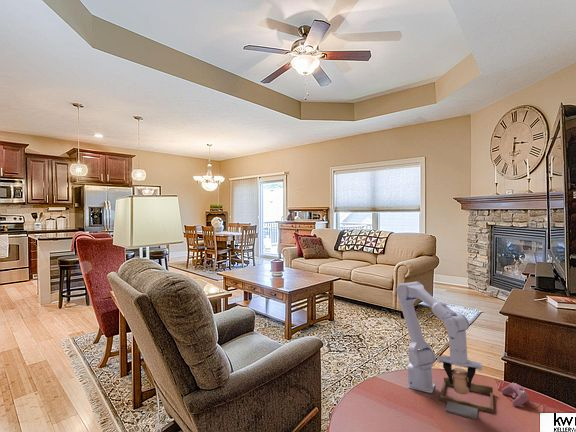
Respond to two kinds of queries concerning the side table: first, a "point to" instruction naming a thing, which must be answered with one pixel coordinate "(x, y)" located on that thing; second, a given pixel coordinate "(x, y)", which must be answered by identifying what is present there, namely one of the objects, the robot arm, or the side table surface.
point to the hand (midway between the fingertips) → (460, 385)
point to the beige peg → (460, 380)
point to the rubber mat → (462, 410)
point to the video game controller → (516, 394)
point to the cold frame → (474, 387)
